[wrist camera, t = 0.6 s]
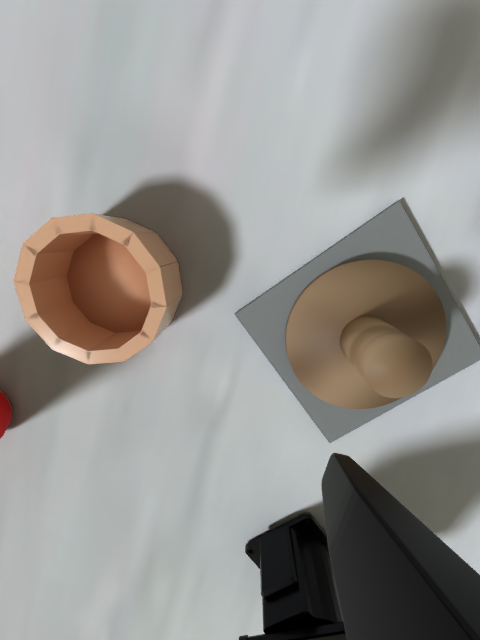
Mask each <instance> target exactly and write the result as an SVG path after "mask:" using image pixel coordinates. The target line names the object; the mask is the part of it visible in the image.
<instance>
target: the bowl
mask: <svg viewBox="0 0 480 640" xmlns="http://www.w3.org/2000/svg"><path fill="white" fill-rule="evenodd" d="M177 261H178V260H177V259H176V258H175V256H174V255H173V254H172V252H171V251H170V250H169V249H168V247H167V246H166V245H165V243H164V242H163V241H162V239H161V238H160V237H159V235H158V234H157V233H155V232H153V231H151V230H149V229H147V228H145V227H142V226H140V225H138V224H136V223H134V222H132V221H129V220H127V219H124V218H118V217H111V216H105V215H99V214H83V215H74V216H65V217H56V218H51V219H50V220H49V221H48V222H47V223H45V224H44V225H43V226H42V227H41V228H40V229H39V230H38V231H36V232H35V233H34V234H33V235H32V236H31V237H30V238H28V239H27V240H26V241H25V242H24V243H23V245H22V249H21V253H20V257H19V261H18V265H17V269H16V273H15V277H14V284H15V288H16V291H17V294H18V298H19V301H20V305H21V308H22V311H23V315H24V318H25V319H26V321H27V322H28V324H29V325H30V326H31V327H32V328H33V329H34V330H35V331H36V332H37V333H38V335H39V336H40V337H41V338H42V339H43V340H44V341H45V342H46V343H47V344H48V345H49V347H50V348H51V349H53V350H55V351H57V352H59V353H62V354H64V355H67V356H69V357H71V358H74V359H76V360H79V361H81V362H83V363H86V364H100V363H113V362H124V361H126V360H127V359H129V358H130V357H132V356H133V355H134V354H136V353H137V352H139V351H140V350H141V349H143V348H144V347H146V346H147V345H148V344H150V343H151V342H153V341H154V340H155V339H156V338H157V336H158V335H159V334H160V333H161V332H162V331H163V330H164V329H165V328H166V327H167V326H168V325H169V324H170V323H171V322H172V319H173V317H174V314H175V312H176V310H177V307H178V305H179V302H180V300H181V297H182V295H183V291H182V284H181V278H180V271H179V264H178V262H177Z"/></svg>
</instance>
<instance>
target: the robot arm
mask: <svg viewBox="0 0 480 640" xmlns="http://www.w3.org/2000/svg"><path fill="white" fill-rule="evenodd" d="M322 496H323V505H324V514H325V523H326V532H327V534H326V532H325V531H324V530H323V529H322V527H321V526H320V525H319V524H318V522H317V521H316V520H315V519H314V517H313V516H312V515H311V514H303V515H301V516H300V517H298V518H296V519H294V520H292V521H290V522H288V523H286V524H284V525H282V526H280V527H278V528H276V529H274V530H272V531H270V532H268V533H266V534H264V535H263V536H261V537H259V538H257V539H255V540H253V541H251V542H249V543H247V544H246V547H245V552H246V554H247V555H248V556H249V557H250V559H251V560H252V561H253V562H254V563H255V564H256V565H257V566H258V567H259V568H260V574H261V595H262V601H263V631H264V633H265V634H262V635H256V636H250V637H248V635H244V636H240V637H239V640H480V575H479V574H478V573H477V572H476V571H475V570H474V569H473V568H471V567H470V566H469V565H468V564H467V563H466V562H465V561H464V560H463V559H462V558H460V557H459V556H458V555H457V554H456V553H455V552H454V551H453V550H452V549H451V548H449V547H448V546H447V545H446V544H445V543H444V542H443V541H442V540H441V539H440V538H438V537H437V536H436V535H435V534H434V533H433V532H432V531H431V530H430V529H429V528H427V527H426V526H425V525H424V524H423V523H422V522H421V521H420V520H419V519H417V518H416V517H415V516H414V515H413V514H412V513H411V512H410V511H409V510H408V509H406V508H405V507H404V506H403V505H402V504H401V503H400V502H399V501H398V500H397V499H395V498H394V497H393V496H392V495H391V494H390V493H389V492H388V491H387V490H386V489H384V488H383V487H382V486H381V485H380V484H379V483H378V482H377V481H376V480H375V479H373V478H372V477H371V476H370V475H369V474H368V473H367V472H366V471H365V470H364V469H362V468H361V467H360V466H359V465H358V464H357V463H356V462H355V461H354V460H353V459H351V458H350V457H349V456H347V455H342V454H338V453H333V454H332V455H331V456H330V459H329V461H328V464H327V467H326V470H325V472H324V475H323V478H322Z"/></svg>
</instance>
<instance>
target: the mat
mask: <svg viewBox="0 0 480 640" xmlns="http://www.w3.org/2000/svg"><path fill="white" fill-rule="evenodd" d="M361 259H376V260H384V261H390V262H394V263H398V264H401V265H403V266H406V267H408V268H410V269H412V270H414V271H415V272H417V273H418V274H420V275H421V276H422V277H423V278H425V279H426V280H427V281H428V282H429V283H430V285H431V286H432V287H433V288H434V290H435V291H436V293H437V294H438V296H439V298H440V300H441V302H442V305H443V308H444V312H445V318H446V337H445V343H444V347H443V350H442V353H441V355H440V358H439V360H438V362H437V364H436V365H435V367H434V369H433V370H432V372H431V375H430V377H429V379H428V381H427V382H426V384H425V385H424V386H423V387H422V388H421V389H420V390H418V391H417V392H415V393H414V394H412V395H409V396H406V397H403V398H401V399H399V400H397V401H395V402H392V403H389V404H387V405H384V406H380V407H375V408H368V409H349V408H343V407H338V406H335V405H332V404H329V403H327V402H325V401H323V400H321V399H319V398H317V397H316V396H314V395H313V394H312V393H310V392H309V391H308V390H307V389H306V388H305V387H304V386H303V385H302V384H301V382H300V381H299V380H298V378H297V377H296V375H295V373H294V371H293V369H292V367H291V365H290V362H289V358H288V355H287V351H286V344H285V331H286V324H287V320H288V317H289V313H290V311H291V309H292V307H293V304H294V303H295V301H296V299H297V298H298V296H299V295H300V294H301V292H302V291H303V290H304V288H305V287H306V286H307V285H308V284H309V283H310V282H311V281H312V280H314V279H315V278H316V277H318V276H319V275H320V274H322V273H323V272H325V271H327V270H329V269H330V268H333V267H335V266H337V265H339V264H343V263H346V262H349V261H355V260H361ZM235 315H236V317H237V318H238V320H239V321H240V322H241V324H242V325H243V326H244V328H245V329H246V330H247V332H248V333H249V334H250V336H251V337H252V339H253V340H254V341H255V343H256V344H257V345H258V347H259V348H260V349H261V351H262V352H263V353H264V355H265V356H266V358H267V359H268V360H269V362H270V363H271V364H272V366H273V367H274V368H275V370H276V371H277V372H278V374H279V375H280V376H281V378H282V379H283V381H284V382H285V383H286V385H287V386H288V387H289V389H290V390H291V391H292V393H293V394H294V395H295V397H296V398H297V400H298V401H299V402H300V404H301V405H302V406H303V408H304V409H305V410H306V412H307V413H308V414H309V416H310V417H311V419H312V420H313V421H314V423H315V424H316V425H317V427H318V428H319V429H320V431H321V432H322V433H323V435H324V436H325V437H326V439H327V440H328V442H329V443H331V442H333V441H335V440H336V439H338V438H340V437H342V436H344V435H345V434H347V433H349V432H351V431H353V430H354V429H356V428H358V427H360V426H362V425H364V424H365V423H367V422H369V421H371V420H373V419H374V418H376V417H378V416H380V415H382V414H383V413H385V412H387V411H389V410H391V409H392V408H394V407H396V406H398V405H400V404H401V403H403V402H405V401H407V400H409V399H410V398H412V397H414V396H416V395H418V394H419V393H421V392H423V391H425V390H427V389H429V388H430V387H432V386H434V385H436V384H438V383H439V382H441V381H443V380H445V379H447V378H448V377H450V376H452V375H454V374H456V373H457V372H459V371H461V370H463V369H465V368H466V367H468V366H470V365H472V364H474V363H475V362H477V361H479V360H480V346H479V344H478V342H477V340H476V338H475V337H474V335H473V333H472V331H471V329H470V328H469V326H468V324H467V322H466V320H465V318H464V317H463V315H462V313H461V311H460V309H459V308H458V306H457V304H456V302H455V300H454V299H453V297H452V295H451V293H450V291H449V289H448V288H447V286H446V284H445V282H444V280H443V279H442V277H441V275H440V273H439V271H438V269H437V268H436V266H435V264H434V262H433V260H432V259H431V257H430V255H429V253H428V251H427V250H426V248H425V246H424V244H423V242H422V240H421V239H420V237H419V235H418V233H417V231H416V230H415V228H414V226H413V224H412V222H411V221H410V219H409V217H408V215H407V213H406V211H405V210H404V208H403V206H402V204H401V202H400V201H397V202H395V203H394V204H392V205H391V206H389V207H388V208H386V209H385V210H384V211H382V212H381V213H379V214H378V215H376V216H375V217H373V218H372V219H371V220H369V221H368V222H366V223H365V224H363V225H362V226H360V227H359V228H358V229H356V230H355V231H353V232H352V233H350V234H349V235H347V236H346V237H344V238H343V239H342V240H340V241H339V242H337V243H336V244H334V245H333V246H331V247H330V248H329V249H327V250H326V251H324V252H323V253H321V254H320V255H318V256H317V257H315V258H314V259H313V260H311V261H310V262H308V263H307V264H305V265H304V266H302V267H301V268H300V269H298V270H297V271H295V272H294V273H292V274H291V275H289V276H288V277H286V278H285V279H284V280H282V281H281V282H279V283H278V284H276V285H275V286H273V287H272V288H271V289H269V290H268V291H266V292H265V293H263V294H262V295H260V296H259V297H257V298H256V299H255V300H253V301H252V302H250V303H249V304H247V305H246V306H244V307H243V308H242V309H240V310H239V311H237V312H236V313H235Z"/></svg>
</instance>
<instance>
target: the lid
mask: <svg viewBox="0 0 480 640" xmlns="http://www.w3.org/2000/svg"><path fill="white" fill-rule="evenodd" d="M445 337H446V318H445V312H444V308H443V305H442V302H441V300H440V298H439V296H438V294H437V293H436V291H435V290H434V288H433V287H432V286H431V285H430V283H429V282H428V281H427V280H426V279H425V278H423V277H422V276H421V275H420V274H418V273H417V272H415V271H414V270H412V269H410V268H408V267H406V266H403V265H401V264H398V263H394V262H390V261H384V260H376V259H361V260H355V261H349V262H346V263H343V264H339V265H337V266H335V267H333V268H330V269H329V270H327V271H325V272H323V273H322V274H320V275H319V276H318V277H316V278H315V279H314V280H312V281H311V282H310V283H309V284H308V285H307V286H306V287H305V288H304V290H303V291H302V292H301V294H300V295H299V296H298V298H297V299H296V301H295V303H294V304H293V307H292V309H291V311H290V313H289V317H288V320H287V324H286V331H285V344H286V351H287V355H288V358H289V362H290V365H291V367H292V369H293V371H294V373H295V375H296V377H297V378H298V380H299V381H300V382H301V384H302V385H303V386H304V387H305V388H306V389H307V390H308V391H309V392H310V393H312V394H313V395H314V396H316V397H317V398H319V399H321V400H323V401H325V402H327V403H329V404H332V405H335V406H338V407H343V408H349V409H368V408H375V407H380V406H384V405H387V404H389V403H392V402H395V401H397V400H399V399H401V398H403V397H406V396H409V395H412V394H414V393H415V392H417V391H418V390H420V389H421V388H422V387H423V386H424V385H425V384H426V382H427V381H428V379H429V377H430V375H431V372H432V370H433V369H434V367H435V365H436V364H437V362H438V360H439V358H440V355H441V353H442V350H443V347H444V343H445Z"/></svg>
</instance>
